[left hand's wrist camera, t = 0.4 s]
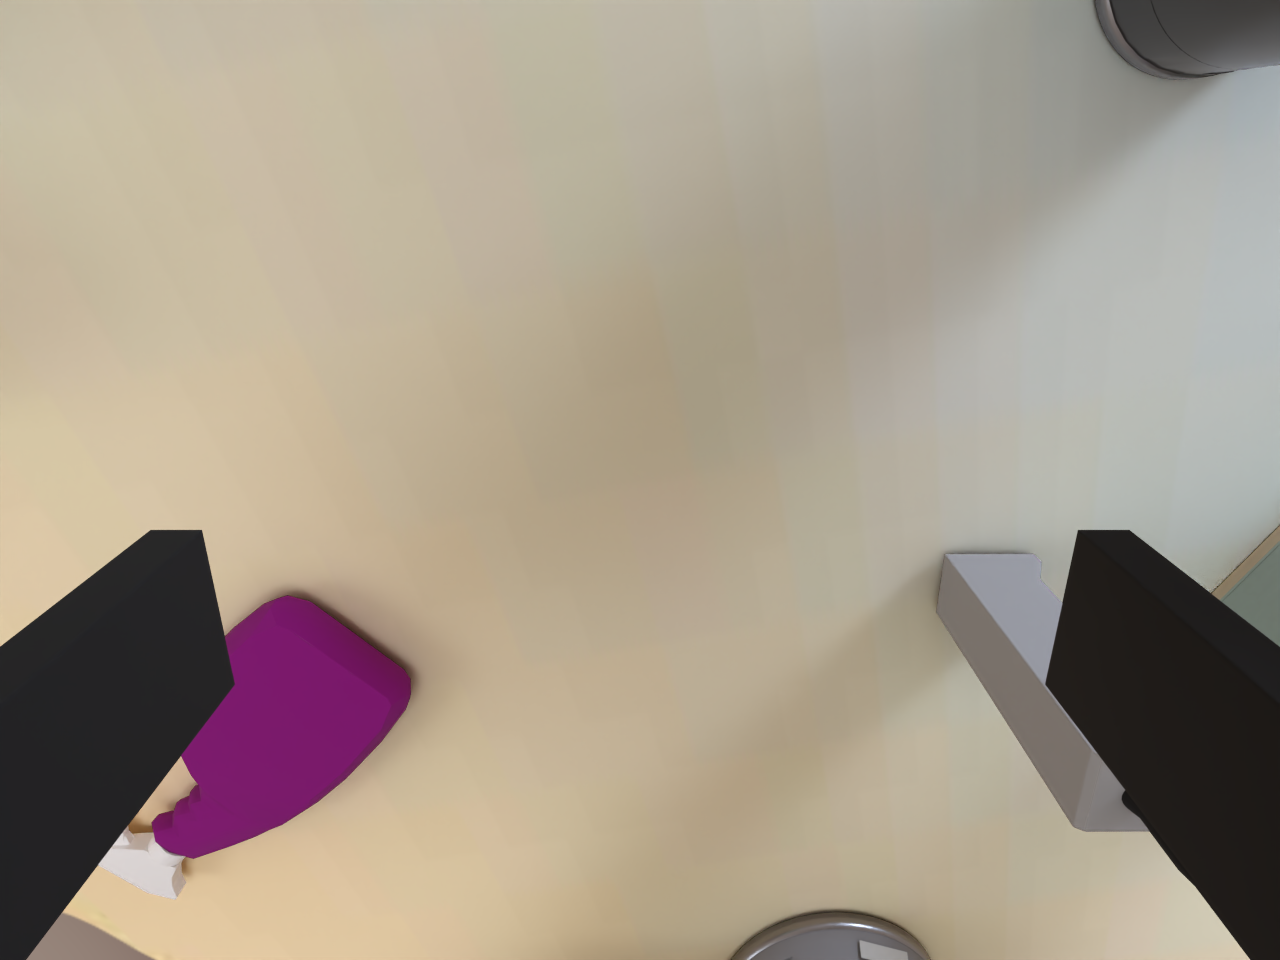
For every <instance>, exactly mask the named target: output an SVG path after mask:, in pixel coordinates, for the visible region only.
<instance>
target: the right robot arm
mask: <svg viewBox="0 0 1280 960" xmlns="http://www.w3.org/2000/svg"><path fill="white" fill-rule="evenodd" d="M1095 3H1096V8H1097V12H1098V17H1099V19H1100V22H1101V25H1102V28H1103V30H1104V32H1105V34H1106V36H1107V38H1108V39H1109V41H1110V43H1111V44H1112V46H1113V47H1114V48H1115V49H1116V51H1117V52H1118V53H1119V54H1120V55H1121V56H1122V57H1123V58H1124V59H1125V60H1126V61H1127V62H1129V63H1130V64H1131V65H1133V66H1134V67H1136V68H1138V69H1139V70H1141V71H1143V72H1146V73H1148V74H1150V75H1154V76H1157V77H1161V78H1167V79H1193V78H1201V77H1207V76H1213V75H1217V74H1221V73H1228V72H1233V71H1237V70H1243V69H1251V68H1259V67H1266V66H1274V65H1280V0H1095Z"/></svg>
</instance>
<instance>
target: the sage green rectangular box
mask: <svg viewBox="0 0 1280 960" xmlns="http://www.w3.org/2000/svg"><path fill="white" fill-rule="evenodd" d="M1211 594H1212V595H1214V596H1215V597H1216V598H1218V599H1219V600H1220V601H1221V602H1223V603H1224V604H1225V605H1227V606H1228V607H1229V608H1230V609H1232V610H1233V611H1234V612H1236V613H1237V614H1238V615H1239V616H1241V617H1242V618H1243V619H1245V620H1246V621H1247V622H1248V623H1250V624H1251V625H1252V626H1254V627H1255V628H1256V629H1258V630H1259V631H1260V632H1261V633H1263V634H1264V635H1265V636H1267V637H1268V638H1269V639H1270V640H1272V641H1273V642H1274V643H1276V644H1277V645H1278V646H1279V647H1280V526H1279V527H1278V528H1277V529H1276V530H1275V531H1274V532H1273V533H1272V534H1271V535H1270V536H1269V537H1268V538H1267V539H1266V540H1265V541H1264V542H1263V543H1262V544H1261V545H1260V546H1259V547H1258V548H1257V549H1256V550H1255V551H1254V552H1253V553H1252V554H1251V555H1250V556H1249V557H1248V558H1247V559H1246V560H1245V561H1244V562H1243V563H1242V564H1241V565H1240V566H1239V567H1238V568H1237V569H1236V570H1235V571H1234V572H1233V573H1232V574H1231V575H1230V576H1229V577H1228V578H1227V579H1225V580H1224V581H1223V582H1222V583H1221V584H1220V585H1219V586H1218V587H1217V588H1216V589H1215V590H1214V591H1213V592H1212V593H1211Z"/></svg>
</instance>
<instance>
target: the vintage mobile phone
mask: <svg viewBox="0 0 1280 960" xmlns="http://www.w3.org/2000/svg"><path fill="white" fill-rule="evenodd" d="M1041 565H1042V562H1041V561H1040V559H1039V558H1038V557H1037V556H1036V555H1035V554H945V556H944V563H943V569H942V576H941V583H940V590H939V597H938V603H937V610H936V612H937V614H938V616H939V617H940V619H941V620H942V622H943V624H944V625H945V627H946V628H947V630H948V631H949V633H950V635H951V636H952V638H953V639H954V641H955V642H956V644H957V646H958V647H959V649H960V650H961V652H962V653H963V655H964V657H965V658H966V660H967V661H968V663H969V664H970V666H971V667H972V669H973V671H974V672H975V674H976V675H977V677H978V678H979V680H980V682H981V683H982V685H983V686H984V688H985V689H986V691H987V693H988V694H989V696H990V697H991V699H992V700H993V702H994V704H995V705H996V707H997V708H998V710H999V711H1000V713H1001V714H1002V716H1003V718H1004V719H1005V721H1006V722H1007V724H1008V725H1009V727H1010V729H1011V730H1012V732H1013V733H1014V735H1015V736H1016V738H1017V740H1018V741H1019V743H1020V744H1021V746H1022V747H1023V749H1024V751H1025V752H1026V754H1027V755H1028V757H1029V758H1030V760H1031V761H1032V763H1033V765H1034V766H1035V768H1036V769H1037V771H1038V772H1039V774H1040V776H1041V777H1042V779H1043V780H1044V782H1045V783H1046V785H1047V787H1048V788H1049V790H1050V791H1051V793H1052V794H1053V796H1054V798H1055V799H1056V801H1057V802H1058V804H1059V805H1060V807H1061V809H1062V810H1063V812H1064V813H1065V815H1066V816H1067V818H1068V819H1069V821H1070V823H1071V824H1072V826H1073V827H1075V828H1077V829H1080V830H1083V831H1086V832H1100V831H1150V832H1151V834H1152V835H1153V836H1154V838H1155V839H1156V841H1157V842H1158V843H1159V845H1160V846H1161V847H1162V849H1163V850H1164V851H1165V853H1166V854H1167V855H1168V857H1169V858H1170V859H1171V861H1172V862H1173V863H1174V865H1175V866H1176V867H1177V869H1178V870H1179V871H1180V872H1181V873H1182V874H1183V875H1184V876H1185V877H1186V878H1187V879H1188V880H1189V881H1190V882H1191V883H1192V884H1193V885H1194V886H1195V887H1196V888H1197V889H1198V891H1199V892H1200V893H1201V895H1202V896H1203V897H1204V899H1205V900H1206V901H1207V903H1208V904H1209V905H1210V907H1211V908H1212V909H1213V911H1214V912H1215V913H1216V915H1217V916H1218V917H1219V919H1220V920H1221V921H1222V923H1223V924H1224V925H1225V927H1226V928H1227V929H1228V931H1229V932H1230V933H1231V935H1232V936H1233V937H1234V939H1235V940H1236V941H1237V943H1238V944H1239V945H1240V947H1241V948H1242V949H1243V951H1244V952H1245V953H1246V955H1247V956H1248V957H1249V959H1250V960H1254V959H1253V958H1252V957H1251V955H1250V954H1249V953H1248V951H1247V950H1246V949H1245V947H1244V946H1243V945H1242V943H1241V942H1240V941H1239V939H1238V938H1237V937H1236V935H1235V934H1234V933H1233V932H1232V930H1231V929H1230V928H1229V926H1228V925H1227V924H1226V922H1225V921H1224V920H1223V918H1222V917H1221V916H1220V914H1219V913H1218V912H1217V910H1216V909H1215V908H1214V906H1213V905H1212V904H1211V903H1210V901H1209V900H1208V899H1207V897H1206V896H1205V895H1204V893H1203V892H1202V891H1201V889H1200V888H1199V887H1198V885H1197V884H1196V883H1195V881H1194V880H1193V879H1192V877H1191V876H1190V875H1189V874H1188V872H1187V871H1186V870H1185V868H1184V867H1183V866H1182V864H1181V863H1180V862H1179V860H1178V859H1177V858H1176V856H1175V855H1174V854H1173V852H1172V851H1171V850H1170V849H1169V847H1168V846H1167V845H1166V843H1165V842H1164V841H1163V839H1162V838H1161V837H1160V835H1159V834H1158V833H1157V831H1156V830H1155V829H1154V827H1153V826H1152V825H1151V823H1150V822H1149V821H1148V820H1147V818H1146V817H1145V816H1144V814H1143V813H1142V812H1141V810H1140V809H1139V808H1138V806H1137V805H1136V804H1135V802H1134V801H1133V800H1132V798H1131V797H1130V796H1129V794H1128V793H1127V792H1126V791H1125V789H1124V788H1123V787H1122V785H1121V784H1120V783H1119V781H1118V780H1117V779H1116V777H1115V776H1114V775H1113V773H1112V772H1111V771H1110V769H1109V768H1108V767H1107V766H1106V764H1105V763H1104V762H1103V760H1102V759H1101V758H1100V756H1099V755H1098V754H1097V752H1096V751H1095V750H1094V748H1093V747H1092V746H1091V744H1090V743H1089V742H1088V740H1087V739H1086V738H1085V737H1084V735H1083V734H1082V733H1081V731H1080V730H1079V729H1078V727H1077V726H1076V725H1075V723H1074V722H1073V721H1072V719H1071V718H1070V717H1069V715H1068V714H1067V713H1066V711H1065V710H1064V709H1063V708H1062V706H1061V705H1060V704H1059V702H1058V701H1057V700H1056V698H1055V697H1054V696H1053V694H1052V693H1051V692H1050V690H1049V689H1048V688H1047V686H1046V685H1045V682H1046V677H1047V673H1048V668H1049V663H1050V659H1051V654H1052V649H1053V645H1054V640H1055V635H1056V631H1057V626H1058V621H1059V617H1060V612H1061V607H1062V602H1061V601H1060V600H1059V599H1058V598H1057V597H1056V595H1055V594H1054V593H1053V592H1052V591H1051V590H1050V589H1049V588H1048V587H1047V586H1046V585H1045V584H1044V583H1043V581H1042V580H1041V579H1040V578H1041Z"/></svg>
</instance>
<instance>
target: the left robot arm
mask: <svg viewBox="0 0 1280 960" xmlns="http://www.w3.org/2000/svg"><path fill="white" fill-rule="evenodd" d="M234 685H235V682H234V677H233V673H232V668H231V663H230V659H229V654H228V649H227V645H226V640H225V635H224V631H223V626H222V621H221V617H220V612H219V607H218V603H217V598H216V593H215V589H214V584H213V579H212V575H211V570H210V566H209V561H208V556H207V552H206V547H205V542H204V538H203V533H202V530H150V531H149V532H148V533H146V534H145V535H144V536H142V537H141V538H140V539H139V540H137V541H136V542H135V543H133V544H132V545H131V546H130V547H128V548H127V549H126V550H124V551H123V552H122V553H121V554H119V555H118V556H117V557H115V558H114V559H113V560H112V561H110V562H109V563H108V564H106V565H105V566H104V567H102V568H101V569H100V570H99V571H97V572H96V573H95V574H93V575H92V576H91V577H90V578H88V579H87V580H86V581H84V582H83V583H82V584H81V585H79V586H78V587H77V588H75V589H74V590H73V591H72V592H70V593H69V594H68V595H66V596H65V597H64V598H62V599H61V600H60V601H59V602H57V603H56V604H55V605H53V606H52V607H51V608H50V609H48V610H47V611H46V612H44V613H43V614H42V615H41V616H39V617H38V618H37V619H35V620H34V621H33V622H32V623H30V624H29V625H28V626H26V627H25V628H24V629H22V630H21V631H20V632H19V633H17V634H16V635H15V636H13V637H12V638H11V639H10V640H8V641H7V642H6V643H4V644H3V645H2V646H1V647H0V960H26V959H27V958H28V956H29V955H30V954H31V953H32V951H33V950H34V949H35V947H36V946H37V945H38V943H39V942H40V941H41V939H42V938H43V937H44V935H45V934H46V933H47V931H48V930H49V929H50V927H51V926H52V925H53V924H54V922H55V921H56V920H57V918H58V917H59V916H60V914H61V913H62V912H63V910H64V909H65V908H66V906H67V905H68V904H69V903H70V901H71V900H72V899H73V897H74V896H75V895H76V893H77V892H78V891H79V889H80V888H81V887H82V885H83V884H84V883H85V881H86V880H87V879H88V877H89V876H90V875H91V874H92V872H93V871H94V870H95V868H96V867H97V866H98V864H99V863H100V862H101V860H102V859H103V858H104V856H105V855H106V854H107V852H108V851H109V850H110V849H111V847H112V846H113V845H114V843H115V842H116V841H117V839H118V838H119V837H120V835H121V834H122V833H123V831H124V830H125V829H126V827H127V826H128V825H129V823H130V822H131V821H132V820H133V818H134V817H135V816H136V814H137V813H138V812H139V810H140V809H141V808H142V806H143V805H144V804H145V802H146V801H147V800H148V798H149V797H150V796H151V794H152V793H153V792H154V791H155V789H156V788H157V787H158V785H159V784H160V783H161V781H162V780H163V779H164V777H165V776H166V775H167V773H168V772H169V771H170V769H171V768H172V767H173V766H174V764H175V763H176V762H177V760H178V759H179V758H180V756H181V755H182V754H183V752H184V751H185V750H186V748H187V747H188V746H189V744H190V743H191V742H192V740H193V739H194V738H195V737H196V735H197V734H198V733H199V731H200V730H201V729H202V727H203V726H204V725H205V723H206V722H207V721H208V719H209V718H210V717H211V715H212V714H213V713H214V711H215V710H216V709H217V708H218V706H219V705H220V704H221V702H222V701H223V700H224V698H225V697H226V696H227V694H228V693H229V692H230V690H231V689H232V688H233V686H234ZM1045 685H1046V686H1047V688H1048V689H1049V690H1050V692H1051V693H1052V694H1053V696H1054V697H1055V698H1056V700H1057V701H1058V702H1059V704H1060V705H1061V706H1062V708H1063V709H1064V710H1065V711H1066V713H1067V714H1068V715H1069V717H1070V718H1071V719H1072V721H1073V722H1074V723H1075V725H1076V726H1077V727H1078V729H1079V730H1080V731H1081V733H1082V734H1083V735H1084V737H1085V738H1086V739H1087V740H1088V742H1089V743H1090V744H1091V746H1092V747H1093V748H1094V750H1095V751H1096V752H1097V754H1098V755H1099V756H1100V758H1101V759H1102V760H1103V762H1104V763H1105V764H1106V766H1107V767H1108V768H1109V769H1110V771H1111V772H1112V773H1113V775H1114V776H1115V777H1116V779H1117V780H1118V781H1119V783H1120V784H1121V785H1122V787H1123V788H1124V789H1125V791H1126V792H1127V793H1128V794H1129V796H1130V797H1131V798H1132V800H1133V801H1134V802H1135V804H1136V805H1137V806H1138V808H1139V809H1140V810H1141V812H1142V813H1143V814H1144V816H1145V817H1146V818H1147V820H1148V821H1149V822H1150V823H1151V825H1152V826H1153V827H1154V829H1155V830H1156V831H1157V833H1158V834H1159V835H1160V837H1161V838H1162V839H1163V841H1164V842H1165V843H1166V845H1167V846H1168V847H1169V849H1170V850H1171V851H1172V852H1173V854H1174V855H1175V856H1176V858H1177V859H1178V860H1179V862H1180V863H1181V864H1182V866H1183V867H1184V868H1185V870H1186V871H1187V872H1188V874H1189V875H1190V876H1191V877H1192V879H1193V880H1194V881H1195V883H1196V884H1197V885H1198V887H1199V888H1200V889H1201V891H1202V892H1203V893H1204V895H1205V896H1206V897H1207V899H1208V900H1209V901H1210V903H1211V904H1212V905H1213V906H1214V908H1215V909H1216V910H1217V912H1218V913H1219V914H1220V916H1221V917H1222V918H1223V920H1224V921H1225V922H1226V924H1227V925H1228V926H1229V928H1230V929H1231V930H1232V932H1233V933H1234V934H1235V935H1236V937H1237V938H1238V939H1239V941H1240V942H1241V943H1242V945H1243V946H1244V947H1245V949H1246V950H1247V951H1248V953H1249V954H1250V955H1251V957H1252V958H1253V959H1254V960H1280V647H1279V646H1278V645H1277V644H1276V643H1274V642H1273V641H1272V640H1270V639H1269V638H1268V637H1267V636H1265V635H1264V634H1263V633H1261V632H1260V631H1259V630H1258V629H1256V628H1255V627H1254V626H1252V625H1251V624H1250V623H1248V622H1247V621H1246V620H1245V619H1243V618H1242V617H1241V616H1239V615H1238V614H1237V613H1236V612H1234V611H1233V610H1232V609H1230V608H1229V607H1228V606H1227V605H1225V604H1224V603H1223V602H1221V601H1220V600H1219V599H1218V598H1216V597H1215V596H1214V595H1212V594H1211V593H1210V592H1208V591H1207V590H1206V589H1205V588H1203V587H1202V586H1201V585H1199V584H1198V583H1197V582H1196V581H1194V580H1193V579H1192V578H1190V577H1189V576H1188V575H1187V574H1185V573H1184V572H1183V571H1181V570H1180V569H1179V568H1178V567H1176V566H1175V565H1174V564H1172V563H1171V562H1170V561H1168V560H1167V559H1166V558H1165V557H1163V556H1162V555H1161V554H1159V553H1158V552H1157V551H1156V550H1154V549H1153V548H1152V547H1150V546H1149V545H1148V544H1147V543H1145V542H1144V541H1143V540H1141V539H1140V538H1139V537H1138V536H1136V535H1135V534H1134V533H1132V532H1131V531H1130V530H1078V533H1077V538H1076V542H1075V547H1074V552H1073V556H1072V561H1071V565H1070V570H1069V575H1068V579H1067V584H1066V589H1065V593H1064V598H1063V603H1062V607H1061V612H1060V617H1059V621H1058V626H1057V631H1056V635H1055V640H1054V645H1053V649H1052V654H1051V659H1050V663H1049V668H1048V673H1047V677H1046V682H1045ZM731 960H930V958H929V956H928V954H927V952H926V951H925V949H924V948H923V947H922V946H921V944H920V943H919V942H918V941H917V940H916V939H915V938H914V937H912V936H911V935H910V934H908V933H907V932H906V931H904V930H903V929H901V928H899V927H897V926H895V925H893V924H891V923H889V922H887V921H884V920H881V919H878V918H875V917H871V916H867V915H861V914H854V913H840V912H833V913H819V914H811V915H806V916H801V917H797V918H793V919H790V920H787V921H784V922H782V923H779V924H777V925H774V926H772V927H770V928H768V929H766V930H765V931H763V932H761V933H760V934H758V935H756V936H755V937H754V938H752V939H751V940H750V941H748V942H747V943H746V944H745V945H744V946H743V947H742V948H740V950H739V951H738V952H737V953H736V954H735V955H734V957H733V958H732V959H731Z"/></svg>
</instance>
